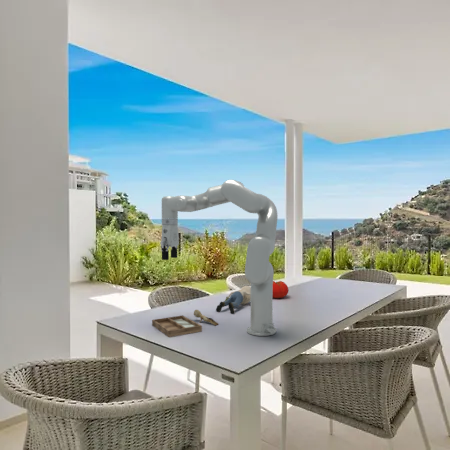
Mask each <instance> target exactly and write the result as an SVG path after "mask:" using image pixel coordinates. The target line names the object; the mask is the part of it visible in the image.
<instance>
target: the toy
mask: <svg viewBox="0 0 450 450" xmlns="http://www.w3.org/2000/svg"><path fill="white" fill-rule="evenodd" d="M250 296H251V286H250V285H244V286H243V287H241V289H237V290H235V291H231V292H230V293H229V295H228V296H226V297H225V300H223V301H220V302H219V304H218V305H217V306H216V309H215V311H216V312H217V313H221V311H222V308H224V307H227V306H228V308H229V312H230V314H231V315H234V314H235V313H236V312H235V309H234V308H238V307H239V306H240V305H243V306H246V305H247V304H249V303H250Z"/></svg>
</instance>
